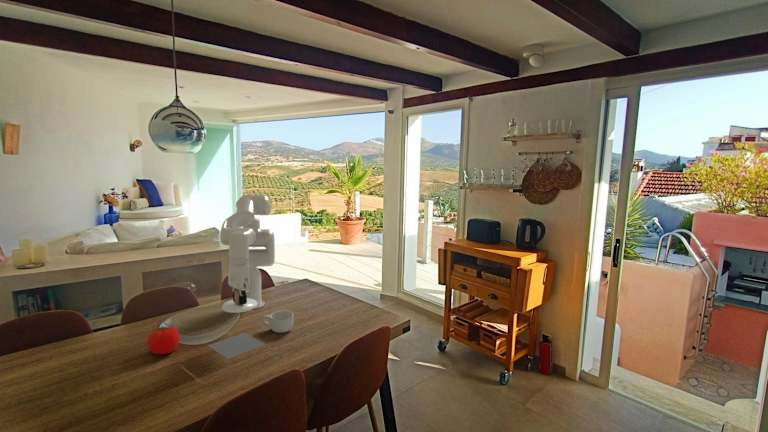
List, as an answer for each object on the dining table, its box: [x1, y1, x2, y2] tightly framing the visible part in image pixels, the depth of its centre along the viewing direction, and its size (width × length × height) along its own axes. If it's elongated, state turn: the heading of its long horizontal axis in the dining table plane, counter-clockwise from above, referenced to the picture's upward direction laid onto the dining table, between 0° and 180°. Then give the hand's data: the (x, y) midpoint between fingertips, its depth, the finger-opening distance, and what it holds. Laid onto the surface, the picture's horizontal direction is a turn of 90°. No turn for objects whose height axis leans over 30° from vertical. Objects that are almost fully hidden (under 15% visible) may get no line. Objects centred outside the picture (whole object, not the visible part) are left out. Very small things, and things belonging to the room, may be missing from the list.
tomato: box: [146, 325, 180, 355], centre depth 149 cm, size 12×12×10 cm
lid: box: [221, 289, 257, 314], centre depth 155 cm, size 14×14×8 cm
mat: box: [207, 332, 266, 360], centre depth 156 cm, size 17×17×1 cm
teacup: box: [262, 309, 295, 334], centre depth 172 cm, size 14×11×8 cm
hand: (239, 302), depth 155 cm, fingers closed on lid, 4 cm apart
